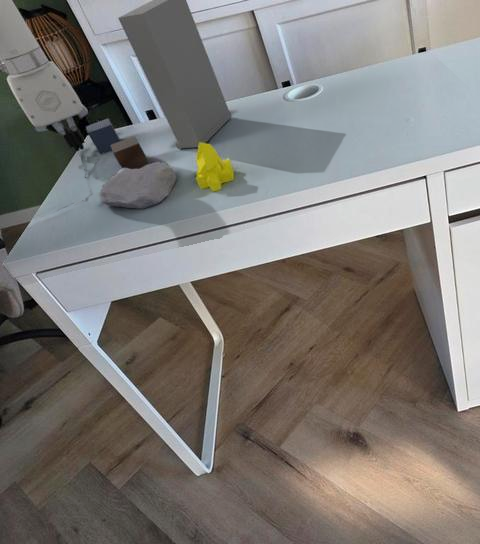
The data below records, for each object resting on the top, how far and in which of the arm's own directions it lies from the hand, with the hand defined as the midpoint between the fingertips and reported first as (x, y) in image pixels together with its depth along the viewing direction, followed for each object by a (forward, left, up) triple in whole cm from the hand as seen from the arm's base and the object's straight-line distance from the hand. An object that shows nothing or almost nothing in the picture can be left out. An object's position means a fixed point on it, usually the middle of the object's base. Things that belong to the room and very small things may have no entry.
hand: (79, 147), depth 106 cm
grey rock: (+8, -31, -2) cm, 32 cm away
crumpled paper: (+21, -37, -2) cm, 43 cm away
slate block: (+6, 0, -2) cm, 6 cm away
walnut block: (+9, -17, -2) cm, 19 cm away
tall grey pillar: (+25, -14, -2) cm, 28 cm away
